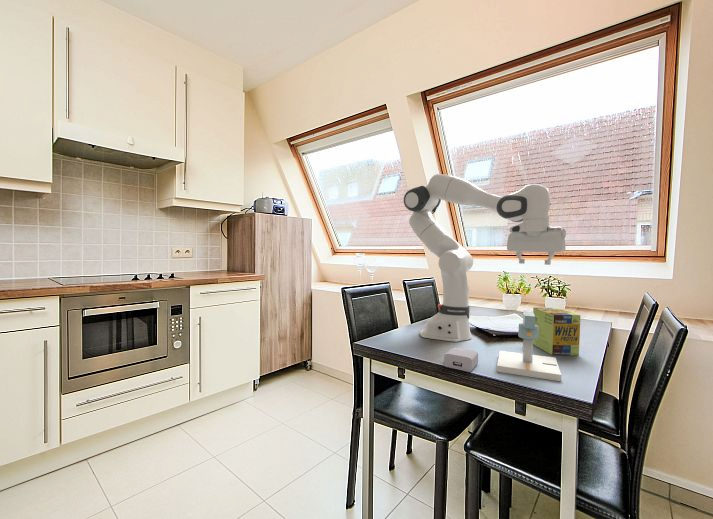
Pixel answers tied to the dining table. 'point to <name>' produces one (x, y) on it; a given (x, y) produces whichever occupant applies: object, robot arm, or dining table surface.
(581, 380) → the dining table surface
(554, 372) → the post base
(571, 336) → the protein box
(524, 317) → the coupling
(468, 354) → the charger
